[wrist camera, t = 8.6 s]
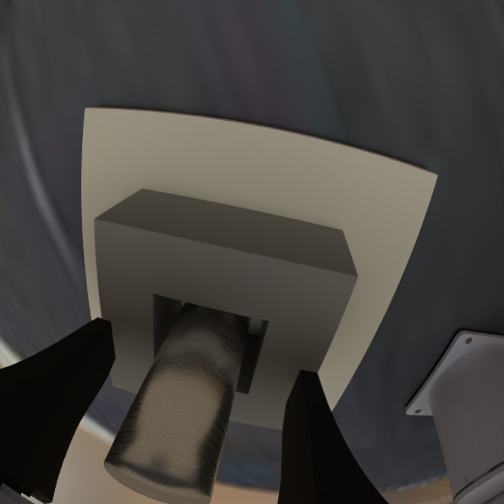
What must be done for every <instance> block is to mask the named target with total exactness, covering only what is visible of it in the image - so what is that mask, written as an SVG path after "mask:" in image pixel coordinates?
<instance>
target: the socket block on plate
mask: <svg viewBox="0 0 504 504" xmlns="http://www.w3.org/2000/svg"><path fill="white" fill-rule="evenodd" d="M437 177H438V175H436V174H435V173H433V172H431V171H429V170H426V169H423V168H421V167H418V166H415V165H412V164H409V163H406V162H403V161H400V160H397V159H394V158H391V157H387V156H384V155H381V154H378V153H374V152H371V151H368V150H364V149H361V148H357V147H353V146H350V145H346V144H342V143H339V142H335V141H331V140H327V139H323V138H319V137H315V136H310V135H306V134H302V133H297V132H293V131H288V130H283V129H278V128H273V127H268V126H263V125H258V124H252V123H247V122H241V121H235V120H229V119H222V118H215V117H208V116H201V115H193V114H185V113H176V112H166V111H155V110H143V109H129V108H109V107H92V108H85V117H84V129H83V146H82V179H81V196H82V229H83V246H84V259H85V270H86V280H87V289H88V297H89V305H90V312H91V318H92V320H94V319H95V318H97V317H99V318H102V319H105V320H108V321H111V325H112V334H113V341H114V349H115V355H116V359H115V361H114V364H113V366H112V368H111V371H110V373H111V378H112V383H113V386H115V387H117V388H120V389H123V390H126V391H128V392H131V393H134V394H137V393H138V391H139V389H140V387H141V385H142V383H143V381H144V379H145V377H146V375H147V373H148V371H149V369H150V367H151V365H152V363H153V362H154V360H155V358H156V356H157V354H158V352H159V350H160V348H161V346H162V344H163V342H164V340H165V338H166V337H167V335H168V333H169V331H170V329H171V327H172V325H173V323H174V321H175V319H176V318H177V316H178V314H179V312H180V310H181V308H182V306H183V304H184V303H185V302H188V303H192V304H196V305H200V306H204V307H208V308H212V309H216V310H221V311H225V312H229V313H234V314H238V315H242V316H247V317H251V323H250V327H249V332H248V337H247V341H246V346H245V350H244V355H243V360H242V364H241V369H240V373H239V378H238V383H237V387H236V392H235V396H234V401H233V405H232V410H231V414H230V419H229V420H230V421H235V422H239V423H244V424H249V425H254V426H260V427H265V428H271V429H277V430H283V421H284V414H285V407H286V402H287V399H288V397H289V395H290V393H291V390H292V388H293V386H294V383H295V381H296V379H297V376H298V374H299V372H300V370H306V371H312V372H317V373H318V375H319V378H320V381H321V384H322V387H323V390H324V393H325V396H326V399H327V401H328V404H329V407H330V409H331V411H332V410H333V409H334V407H335V405H336V404H337V402H338V400H339V399H340V397H341V395H342V394H343V392H344V390H345V389H346V387H347V385H348V383H349V382H350V380H351V378H352V376H353V375H354V373H355V371H356V369H357V367H358V366H359V364H360V362H361V360H362V358H363V356H364V355H365V353H366V351H367V349H368V347H369V345H370V343H371V341H372V339H373V337H374V335H375V333H376V331H377V329H378V327H379V325H380V323H381V321H382V319H383V317H384V315H385V313H386V311H387V308H388V306H389V304H390V302H391V300H392V297H393V295H394V293H395V291H396V289H397V286H398V284H399V282H400V279H401V277H402V275H403V272H404V270H405V267H406V265H407V262H408V260H409V257H410V255H411V252H412V250H413V247H414V245H415V242H416V239H417V237H418V234H419V231H420V228H421V226H422V223H423V220H424V217H425V214H426V211H427V208H428V205H429V202H430V199H431V196H432V193H433V190H434V187H435V183H436V180H437Z"/></svg>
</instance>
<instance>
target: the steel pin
mask: <svg viewBox="0 0 504 504" xmlns="http://www.w3.org/2000/svg"><path fill="white" fill-rule="evenodd" d="M250 323H251V317H247V316H242V315H238V314H234V313H229V312H225V311H221V310H216V309H212V308H208V307H204V306H200V305H196V304H192V303H188V302H185V303H184V304H183V306H182V308H181V310H180V312H179V314H178V316H177V318H176V319H175V321H174V323H173V325H172V327H171V329H170V331H169V333H168V335H167V337H166V338H165V340H164V342H163V344H162V346H161V348H160V350H159V352H158V354H157V356H156V358H155V360H154V362H153V363H152V365H151V367H150V369H149V371H148V373H147V375H146V377H145V379H144V381H143V383H142V385H141V387H140V389H139V391H138V393H137V395H136V397H135V399H134V401H133V403H132V405H131V407H130V409H129V411H128V413H127V415H126V417H125V419H124V421H123V423H122V425H121V427H120V429H119V432H118V434H117V436H116V438H115V440H114V442H113V444H112V446H111V448H110V450H109V452H108V455H107V457H106V459H105V461H104V467H105V469H106V470H107V472H108V473H109V474H110V475H111V476H112V477H113V478H114V479H116V480H117V481H119V482H120V483H122V484H123V485H124V486H126V487H128V488H130V489H132V490H133V491H135V492H137V493H139V494H142V495H144V496H146V497H149V498H152V499H155V500H157V501H161V502H165V503H168V504H209V503H210V502H211V497H212V493H213V488H214V484H215V480H216V476H217V471H218V467H219V463H220V458H221V454H222V450H223V445H224V441H225V436H226V432H227V428H228V423H229V419H230V414H231V410H232V405H233V401H234V396H235V392H236V387H237V383H238V378H239V373H240V369H241V364H242V360H243V355H244V350H245V346H246V341H247V337H248V332H249V327H250Z"/></svg>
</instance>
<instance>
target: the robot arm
mask: <svg viewBox="0 0 504 504" xmlns="http://www.w3.org/2000/svg"><path fill="white" fill-rule="evenodd" d="M115 359H116V355H115V349H114V341H113V334H112V325H111V321H108V320H105V319H102V318H99V317H97V318H95V319H94V320H92V321H90V322H89V323H87V324H86V325H84V326H82V327H81V328H79V329H78V330H76V331H75V332H73V333H71V334H70V335H68V336H66V337H65V338H63V339H62V340H60V341H58V342H57V343H55V344H53V345H51V346H50V347H48V348H46V349H44V350H42V351H40V352H39V353H37V354H35V355H33V356H31V357H29V358H27V359H25V360H22V361H20V362H18V363H16V364H13V365H11V366H8V367H5V368H2V369H0V504H34V503H32V502H31V501H29V500H27V499H26V498H24V497H23V496H21V493H23V494H25V495H27V496H28V497H30V496H32V497H34V498H36V499H37V500H39V501H41V502H42V503H44V504H47V503H51V502H52V500H53V496H54V492H55V488H56V484H57V480H58V477H59V473H60V470H61V467H62V464H63V461H64V458H65V456H66V453H67V450H68V448H69V445H70V443H71V440H72V438H73V436H74V434H75V431H76V429H77V427H78V425H79V423H80V421H81V420H82V418H83V416H84V415H85V413H86V411H87V410H88V408H89V406H90V405H91V403H92V402H93V400H94V398H95V397H96V395H97V394H98V392H99V390H100V389H101V387H102V386H103V384H104V382H105V381H106V379H107V377H108V375H109V373H110V371H111V368H112V366H113V364H114V361H115ZM405 411H406V414H408V415H433V419H434V422H435V426H436V429H437V433H438V436H439V440H440V444H441V448H442V452H443V456H444V460H445V464H446V469H447V473H448V478H449V482H450V487H451V492H452V497H453V500H454V501H453V502H451V503H450V504H504V336H500V335H493V334H486V333H479V332H472V331H466V330H464V331H460V332H459V333H458V334H457V335H456V336H455V338H454V339H453V341H452V343H451V344H450V346H449V347H448V349H447V351H446V352H445V354H444V355H443V357H442V358H441V360H440V361H439V363H438V364H437V366H436V367H435V369H434V370H433V372H432V373H431V375H430V376H429V377H428V379H427V380H426V382H425V383H424V384H423V386H422V387H421V389H420V390H419V391H418V393H417V394H416V395H415V397H414V398H413V399H412V401H411V402H410V403H409V404H408V406H407V407H406V409H405ZM278 504H389V503H388V502H387V501H386V500H385V499H384V498H383V497H382V496H381V494H380V493H379V492H378V490H377V489H376V488H375V487H374V485H373V484H372V483H371V482H370V480H369V479H368V478H367V476H366V475H365V473H364V472H363V470H362V469H361V467H360V466H359V464H358V463H357V461H356V460H355V458H354V456H353V455H352V453H351V451H350V449H349V447H348V446H347V444H346V442H345V440H344V438H343V436H342V434H341V432H340V430H339V428H338V425H337V423H336V421H335V418H334V416H333V414H332V411H331V409H330V407H329V404H328V401H327V399H326V396H325V393H324V390H323V387H322V384H321V381H320V378H319V375H318V373H317V372H312V371H306V370H300V372H299V374H298V376H297V379H296V381H295V383H294V386H293V388H292V390H291V393H290V395H289V397H288V399H287V402H286V407H285V414H284V421H283V432H282V466H281V483H280V491H279V497H278Z"/></svg>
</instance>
